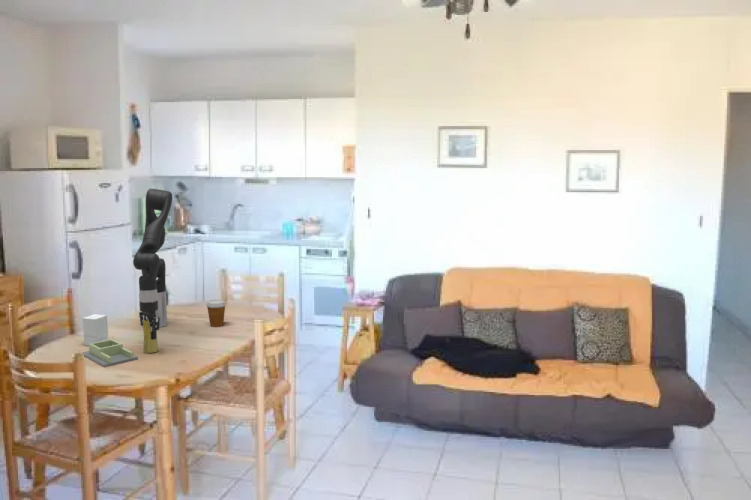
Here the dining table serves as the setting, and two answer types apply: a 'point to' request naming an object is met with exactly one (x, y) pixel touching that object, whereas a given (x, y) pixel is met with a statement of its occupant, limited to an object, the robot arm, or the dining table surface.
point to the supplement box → (95, 328)
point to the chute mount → (109, 353)
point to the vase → (149, 339)
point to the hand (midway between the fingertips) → (150, 337)
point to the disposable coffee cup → (216, 312)
